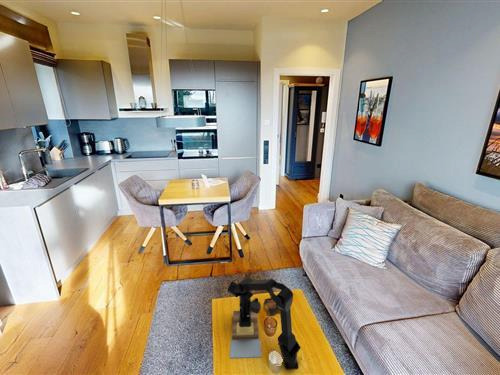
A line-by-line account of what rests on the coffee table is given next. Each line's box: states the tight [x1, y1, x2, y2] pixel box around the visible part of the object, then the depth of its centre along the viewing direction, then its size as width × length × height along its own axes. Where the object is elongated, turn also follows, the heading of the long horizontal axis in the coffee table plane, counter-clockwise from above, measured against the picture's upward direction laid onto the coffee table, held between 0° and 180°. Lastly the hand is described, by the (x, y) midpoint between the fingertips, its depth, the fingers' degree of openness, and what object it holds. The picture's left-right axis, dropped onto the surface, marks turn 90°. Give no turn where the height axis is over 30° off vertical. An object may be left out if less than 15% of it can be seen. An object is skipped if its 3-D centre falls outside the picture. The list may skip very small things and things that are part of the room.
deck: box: [231, 310, 259, 340], centre depth 139 cm, size 16×14×4 cm
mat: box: [229, 338, 263, 359], centre depth 127 cm, size 10×16×1 cm, turn 91°
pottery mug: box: [262, 297, 280, 316], centre depth 150 cm, size 12×10×8 cm
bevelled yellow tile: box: [237, 322, 254, 335], centre depth 132 cm, size 6×9×2 cm, turn 91°
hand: (245, 322), depth 136 cm, fingers closed
